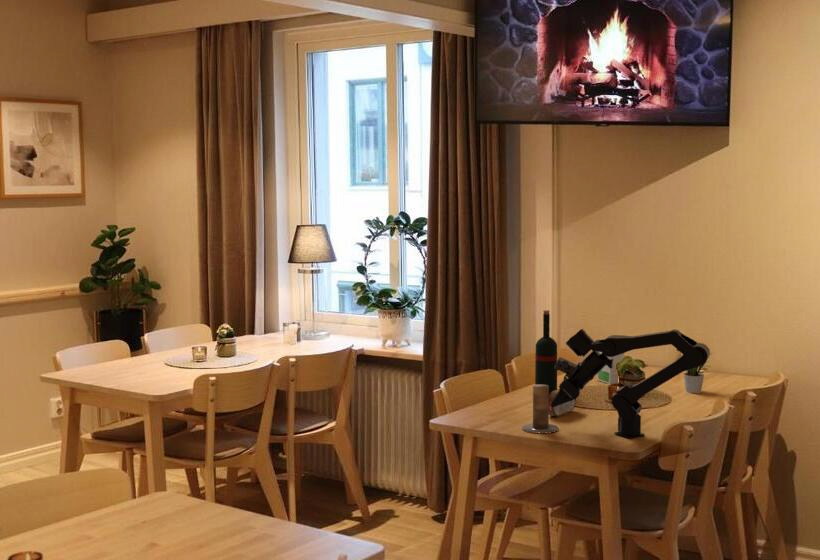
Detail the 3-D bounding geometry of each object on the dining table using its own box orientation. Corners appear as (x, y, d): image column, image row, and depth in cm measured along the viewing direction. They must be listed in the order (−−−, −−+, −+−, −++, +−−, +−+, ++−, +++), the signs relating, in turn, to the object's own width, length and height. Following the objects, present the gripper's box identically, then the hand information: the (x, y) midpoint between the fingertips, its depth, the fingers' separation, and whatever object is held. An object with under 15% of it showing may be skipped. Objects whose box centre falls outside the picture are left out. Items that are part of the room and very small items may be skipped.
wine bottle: (562, 392, 369) (563, 309, 366) (552, 397, 360) (552, 312, 357) (542, 390, 373) (542, 307, 370) (531, 395, 364) (531, 311, 361)
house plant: (721, 389, 371) (722, 344, 369) (713, 397, 359) (714, 351, 357) (681, 386, 377) (682, 342, 376) (672, 393, 365) (673, 348, 363)
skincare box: (596, 380, 389) (597, 339, 387) (611, 378, 392) (611, 338, 390) (610, 384, 382) (610, 343, 380) (624, 382, 384) (625, 341, 383)
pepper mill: (551, 428, 316) (551, 386, 314) (539, 430, 313) (539, 388, 312) (542, 425, 320) (542, 383, 318) (529, 427, 317) (529, 385, 316)
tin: (569, 409, 343) (569, 384, 342) (577, 410, 341) (578, 385, 340) (545, 418, 331) (545, 392, 330) (553, 419, 329) (554, 393, 328)
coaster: (565, 430, 315) (565, 428, 315) (536, 435, 309) (536, 433, 309) (543, 423, 324) (543, 421, 324) (515, 427, 319) (515, 426, 319)
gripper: (573, 344, 321) (538, 378, 325) (566, 354, 303) (530, 390, 307) (599, 369, 320) (563, 403, 323) (594, 381, 302) (557, 417, 305)
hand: (553, 402), depth 315 cm, fingers open, 9 cm apart
